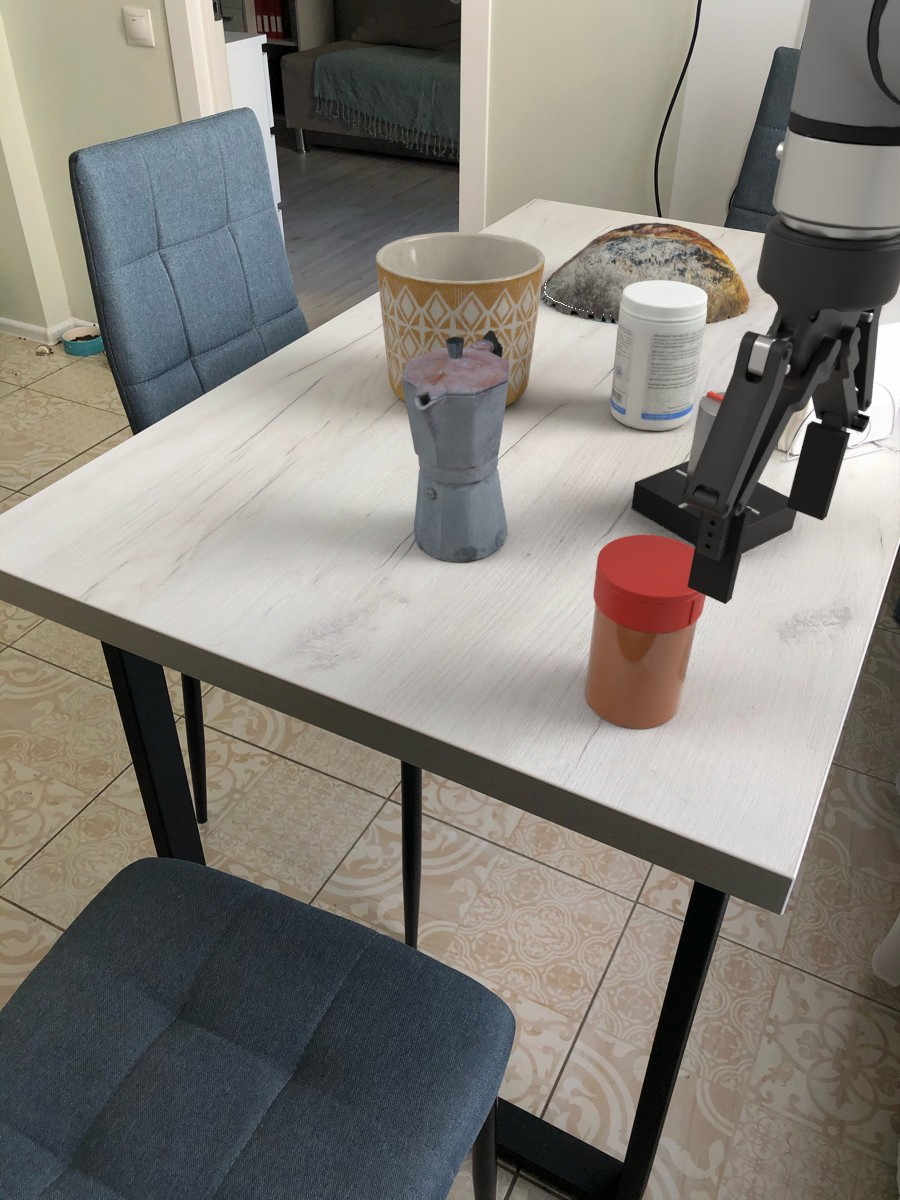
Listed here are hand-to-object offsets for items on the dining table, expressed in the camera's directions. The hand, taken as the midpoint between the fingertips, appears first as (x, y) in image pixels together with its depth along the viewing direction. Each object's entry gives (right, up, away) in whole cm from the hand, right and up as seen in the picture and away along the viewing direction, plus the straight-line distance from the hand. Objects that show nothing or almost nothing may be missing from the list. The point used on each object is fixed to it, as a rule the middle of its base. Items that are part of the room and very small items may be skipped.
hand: (760, 550), depth 63 cm
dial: (+5, +7, +28) cm, 29 cm away
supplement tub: (+3, +18, +48) cm, 52 cm away
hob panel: (+5, +5, +30) cm, 30 cm away
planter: (-20, +23, +54) cm, 62 cm away
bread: (+9, +44, +83) cm, 95 cm away
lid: (-7, -1, +2) cm, 7 cm away
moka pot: (-20, +3, +27) cm, 34 cm away
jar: (-7, -11, +9) cm, 15 cm away
